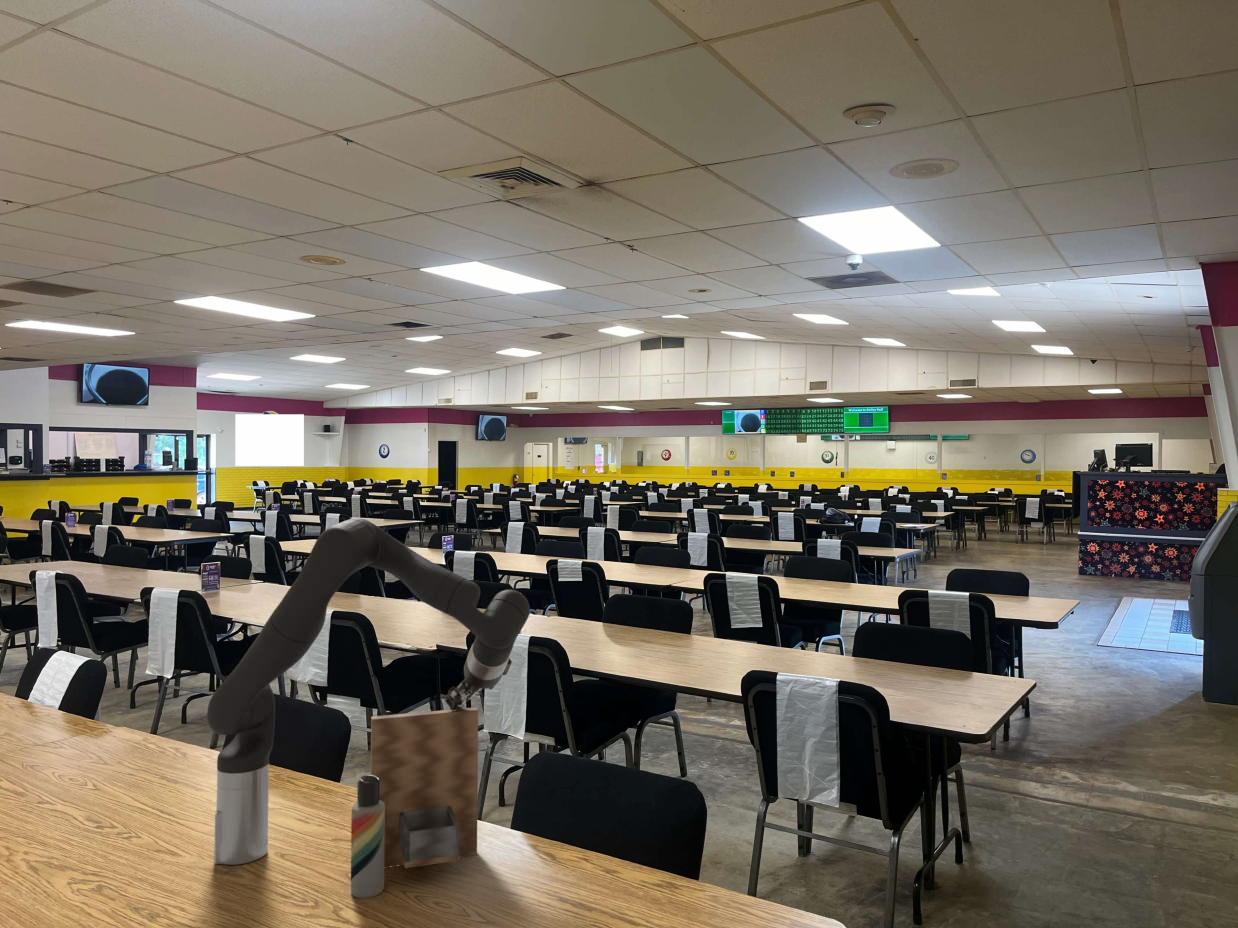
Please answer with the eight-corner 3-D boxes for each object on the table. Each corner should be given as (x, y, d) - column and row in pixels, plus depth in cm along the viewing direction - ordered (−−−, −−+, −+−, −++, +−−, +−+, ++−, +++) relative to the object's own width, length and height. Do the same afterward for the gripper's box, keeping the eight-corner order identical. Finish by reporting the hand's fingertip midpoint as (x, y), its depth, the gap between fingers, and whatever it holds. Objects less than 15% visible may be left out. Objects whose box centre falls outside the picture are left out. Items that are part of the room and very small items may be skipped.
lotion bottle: (354, 883, 152) (355, 771, 152) (386, 882, 152) (388, 771, 152) (347, 899, 146) (348, 783, 146) (380, 897, 146) (381, 782, 147)
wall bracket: (374, 895, 147) (375, 734, 148) (369, 865, 159) (371, 716, 159) (487, 877, 154) (488, 724, 155) (475, 849, 166) (476, 707, 166)
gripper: (504, 626, 165) (489, 663, 177) (444, 665, 156) (433, 701, 168) (528, 655, 163) (511, 691, 174) (468, 696, 154) (455, 731, 166)
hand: (472, 696), depth 171 cm, fingers open, 7 cm apart
